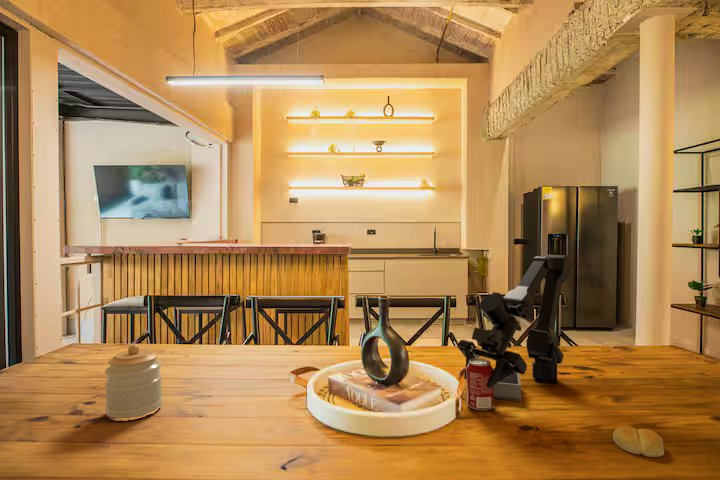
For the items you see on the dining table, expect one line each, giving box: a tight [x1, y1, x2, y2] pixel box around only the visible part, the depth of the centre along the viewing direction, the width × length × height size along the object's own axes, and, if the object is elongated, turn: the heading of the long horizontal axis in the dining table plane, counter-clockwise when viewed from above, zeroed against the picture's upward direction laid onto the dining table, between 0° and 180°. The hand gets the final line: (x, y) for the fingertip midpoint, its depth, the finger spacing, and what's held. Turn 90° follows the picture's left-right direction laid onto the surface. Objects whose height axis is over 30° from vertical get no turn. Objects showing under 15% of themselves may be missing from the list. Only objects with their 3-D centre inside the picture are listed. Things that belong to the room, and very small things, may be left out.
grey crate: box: [493, 372, 522, 403], centre depth 117 cm, size 11×11×4 cm
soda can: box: [465, 357, 495, 412], centre depth 107 cm, size 7×7×12 cm
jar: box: [104, 343, 163, 418], centre depth 107 cm, size 13×13×18 cm
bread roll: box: [612, 425, 665, 458], centre depth 87 cm, size 8×9×4 cm
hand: (476, 383), depth 107 cm, fingers closed on soda can, 7 cm apart
